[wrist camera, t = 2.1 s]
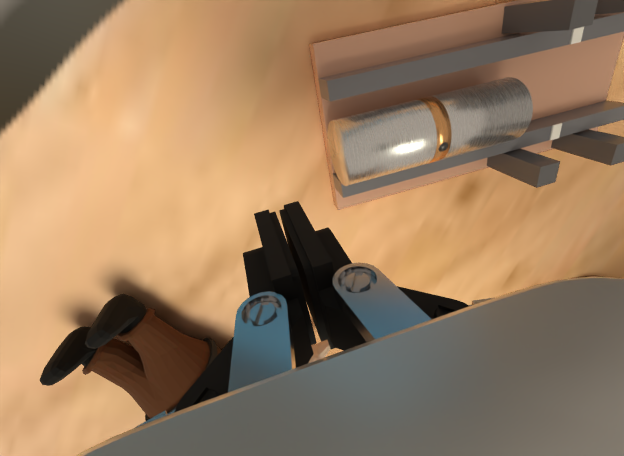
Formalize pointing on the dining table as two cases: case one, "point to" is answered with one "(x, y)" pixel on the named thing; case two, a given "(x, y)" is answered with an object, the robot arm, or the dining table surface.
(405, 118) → the steel tube
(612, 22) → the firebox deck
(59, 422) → the dining table surface
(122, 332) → the toy
